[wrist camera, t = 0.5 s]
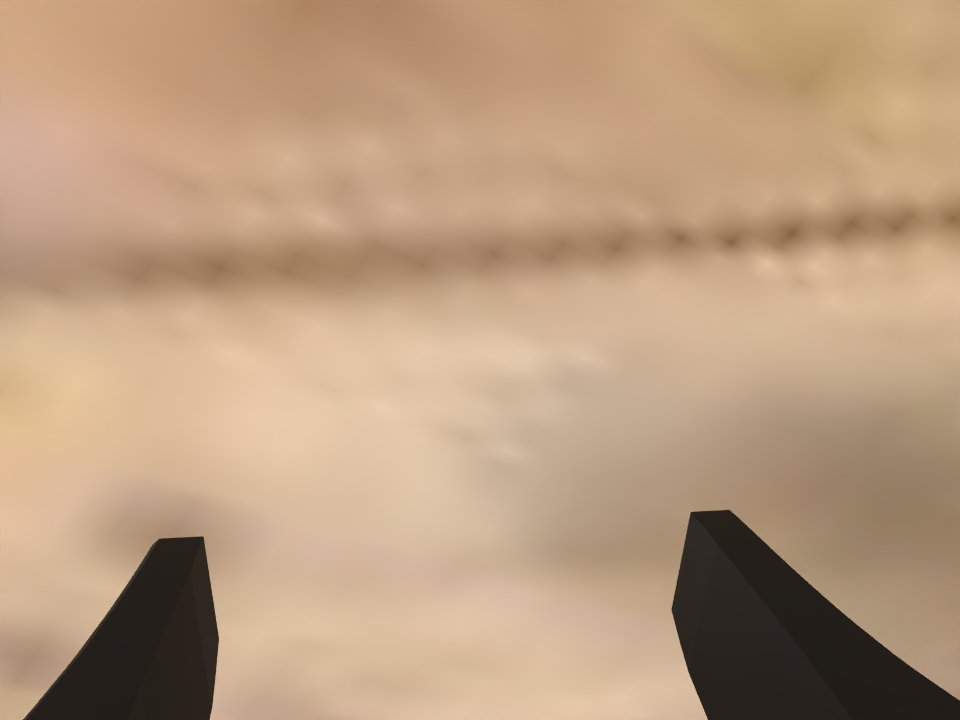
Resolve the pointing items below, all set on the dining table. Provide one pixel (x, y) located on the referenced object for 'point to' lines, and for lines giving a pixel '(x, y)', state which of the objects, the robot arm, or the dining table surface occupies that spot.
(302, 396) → the dining table surface
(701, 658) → the robot arm
